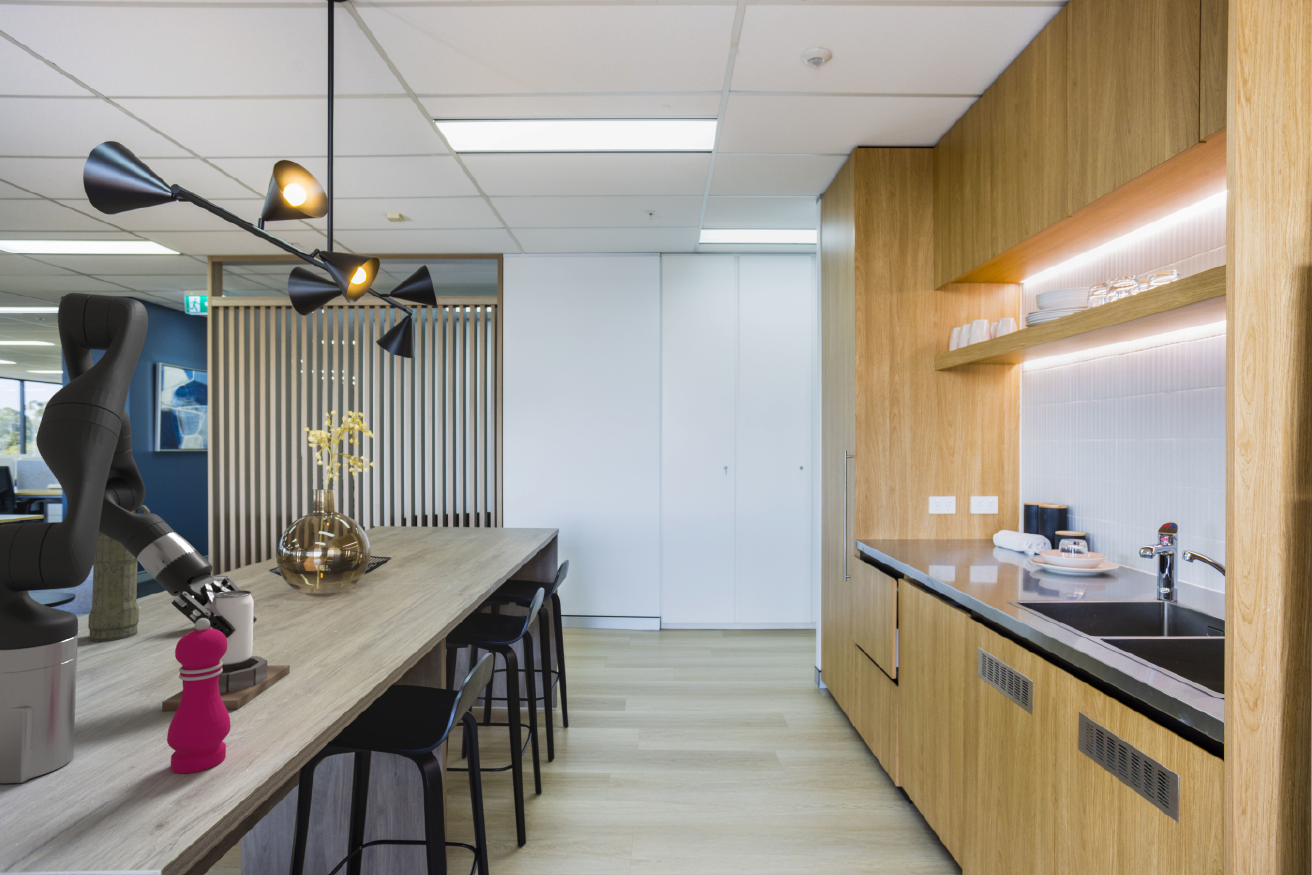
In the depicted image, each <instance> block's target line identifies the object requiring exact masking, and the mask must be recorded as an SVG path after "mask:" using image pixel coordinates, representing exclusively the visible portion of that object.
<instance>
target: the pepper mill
mask: <svg viewBox="0 0 1312 875" xmlns="http://www.w3.org/2000/svg"><path fill="white" fill-rule="evenodd" d="M209 626H210V621H209V620H208V619H206V618H201V619H199V620H197V621H196V623H195V624H194V628H195V629H194V630H192V631H189V632H187V633H186V634H184V635H183V636H181V637H180V639H179V640H178V641H177V643H176V645H175V650H174V656H175V659H176V661H177V662H178V663H179V664H180V665H181V666H180V668H179V669H178V672H179V675H178V678H179V680H182V690H181V691H182V698H181V701H180V705H179V707H178V709H177V711H175V714H174V715H173V717H172V719H171V721H170V724H169V726H168V731H167V736H166V743H167V744H168V746H169V747H170V748H171V749H173V751H174V752H173V753H171V756H170V770H171V771H172V772H174V773H176V774H191V773H192V774H193V773H197V772H198V773H199V772H202V771H206V770H208V769H211V768H214V767H216V766H218V765H220V764H221V763H222V762H223V761H224V760H225V759H226V757H227V756H226V754H227V744H226V743H225V742H224V740H225V739H226V737H227V736H228V735H229V733H230V731H231V728H232V726H231V725H232V724H231V718H230V714H229V710H227V709H226V707H225V705H224V703H223V701H222V699H221V696H220V692H219V685H218V680H219V674H220V673H222V671H223V669H222V665H223V662H222V661H220V659H221V658H222V657H223V656H224V654H225V653H226V651H227V647H228V644H227V639H226V636H225V635H224V634H223V633H222V632H221V631H219V630H216V629H210V628H209Z"/></svg>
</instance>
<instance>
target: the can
mask: <svg viewBox="0 0 1312 875" xmlns="http://www.w3.org/2000/svg"><path fill="white" fill-rule="evenodd" d="M215 599H216V605H215V607H216V609H217V610H218V612H219V614H220V615H222V616H223V617H224V618H225V619H226V620H227V621H228V622H229V623H230V624H231V625H232V626H233V627H234V628H235V632H234V633H233V634H232V635H231V636H229V637H228V638H226V639H227V644H228V647H227V651H226V653H225V654H224V656H223V657H222V658H221V659H220V661H222V662H223V665H232V664H238V663H242V662H244V661H247V660H248V659H250V657H251V656H253V648H254V646H253V643H254V642H253V641H254V638H253V637H254V623H253V615H254V612H255V610H254V609H255V608H254V605H255V603H254V602H255V600H254V599H253V596H252V591H250V590H244V589H243V590H241V589H240V590H237V591H227V592H221V593H218V594H216V595H215ZM220 615H219V616H220ZM211 629H213V628H212V627H211Z"/></svg>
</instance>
